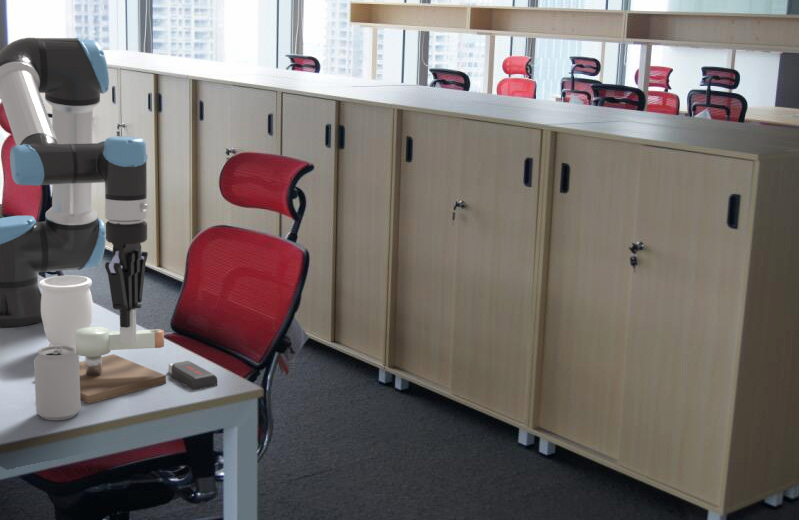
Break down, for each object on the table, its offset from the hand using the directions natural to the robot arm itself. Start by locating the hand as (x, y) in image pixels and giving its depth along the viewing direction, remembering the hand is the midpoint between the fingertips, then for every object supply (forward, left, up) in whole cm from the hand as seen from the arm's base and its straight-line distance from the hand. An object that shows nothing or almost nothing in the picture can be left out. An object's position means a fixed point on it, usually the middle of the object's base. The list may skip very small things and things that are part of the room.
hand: (128, 342), depth 201 cm
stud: (-6, -4, -7) cm, 10 cm away
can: (+5, -18, -9) cm, 21 cm away
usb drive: (+6, +10, -9) cm, 15 cm away
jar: (-27, +3, -9) cm, 28 cm away
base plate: (-5, -3, -8) cm, 10 cm away
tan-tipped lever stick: (-3, 0, -2) cm, 4 cm away
